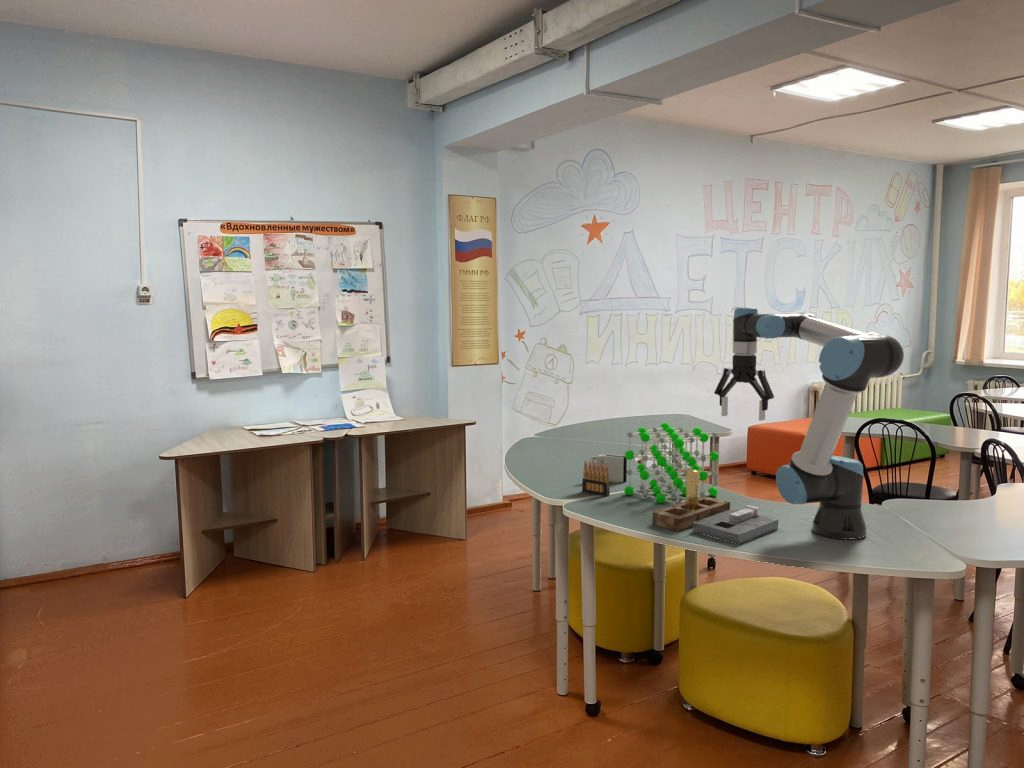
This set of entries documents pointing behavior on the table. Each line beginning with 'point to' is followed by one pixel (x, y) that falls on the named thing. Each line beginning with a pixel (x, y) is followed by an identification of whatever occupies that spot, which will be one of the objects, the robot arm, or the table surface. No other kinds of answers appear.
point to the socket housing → (735, 527)
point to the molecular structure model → (666, 463)
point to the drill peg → (692, 489)
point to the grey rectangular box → (612, 466)
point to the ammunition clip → (595, 479)
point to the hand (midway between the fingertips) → (742, 417)
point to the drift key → (744, 514)
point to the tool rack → (688, 513)
